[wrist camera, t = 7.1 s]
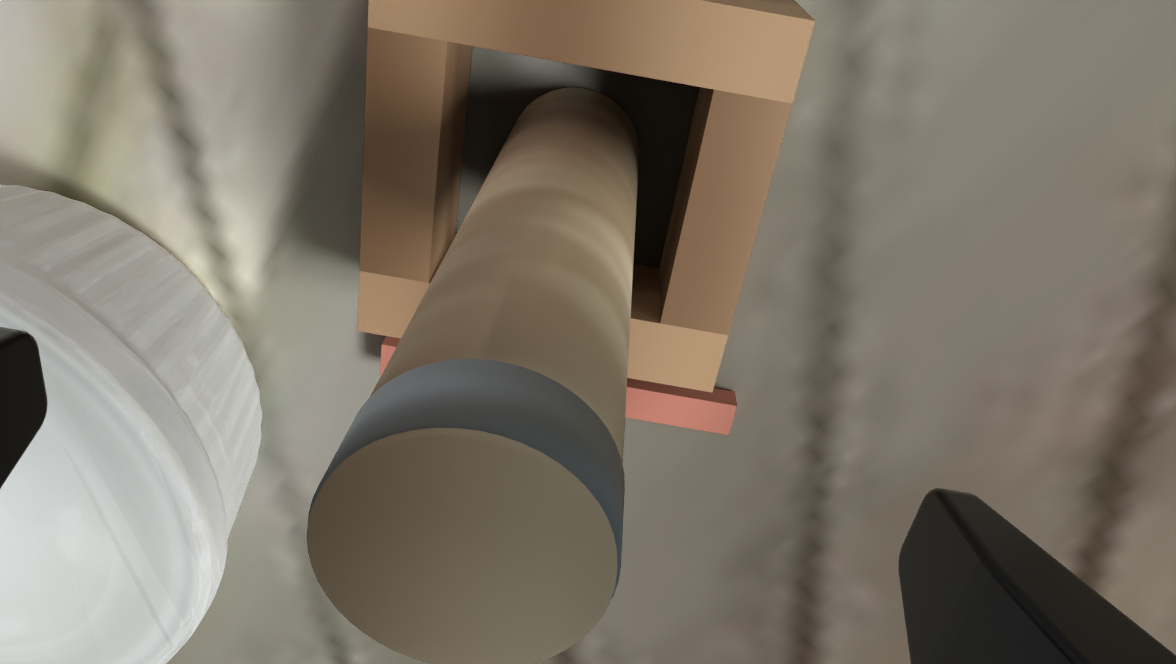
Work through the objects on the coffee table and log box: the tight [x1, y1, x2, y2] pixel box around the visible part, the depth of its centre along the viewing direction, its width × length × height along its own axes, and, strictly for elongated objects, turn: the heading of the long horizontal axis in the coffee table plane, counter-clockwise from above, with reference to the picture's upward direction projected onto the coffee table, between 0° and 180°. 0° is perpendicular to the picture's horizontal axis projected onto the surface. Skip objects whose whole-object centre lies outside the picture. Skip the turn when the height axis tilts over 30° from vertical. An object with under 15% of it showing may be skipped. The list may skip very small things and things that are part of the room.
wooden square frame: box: [357, 0, 815, 435], centre depth 17 cm, size 8×9×2 cm
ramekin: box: [0, 184, 262, 664], centre depth 18 cm, size 11×11×5 cm
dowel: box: [307, 87, 639, 664], centre depth 12 cm, size 3×3×12 cm
